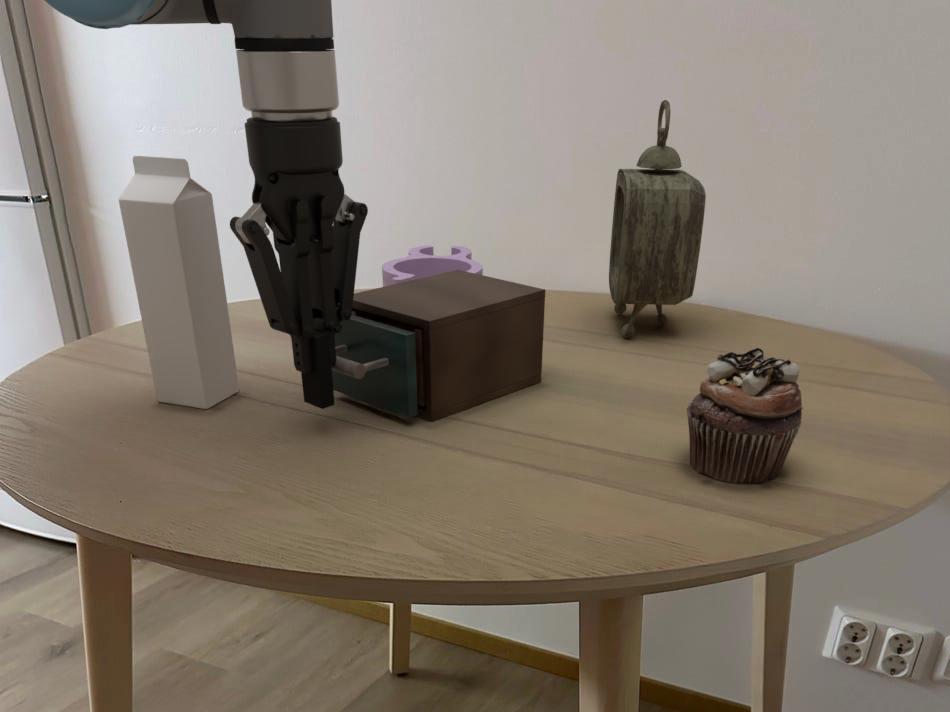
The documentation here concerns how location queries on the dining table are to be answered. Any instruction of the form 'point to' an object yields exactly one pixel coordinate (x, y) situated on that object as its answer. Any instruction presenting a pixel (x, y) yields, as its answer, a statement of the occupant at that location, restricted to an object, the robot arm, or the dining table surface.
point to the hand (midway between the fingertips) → (319, 403)
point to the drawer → (380, 363)
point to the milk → (179, 283)
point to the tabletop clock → (655, 231)
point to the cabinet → (467, 335)
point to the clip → (428, 264)
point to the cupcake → (745, 418)
